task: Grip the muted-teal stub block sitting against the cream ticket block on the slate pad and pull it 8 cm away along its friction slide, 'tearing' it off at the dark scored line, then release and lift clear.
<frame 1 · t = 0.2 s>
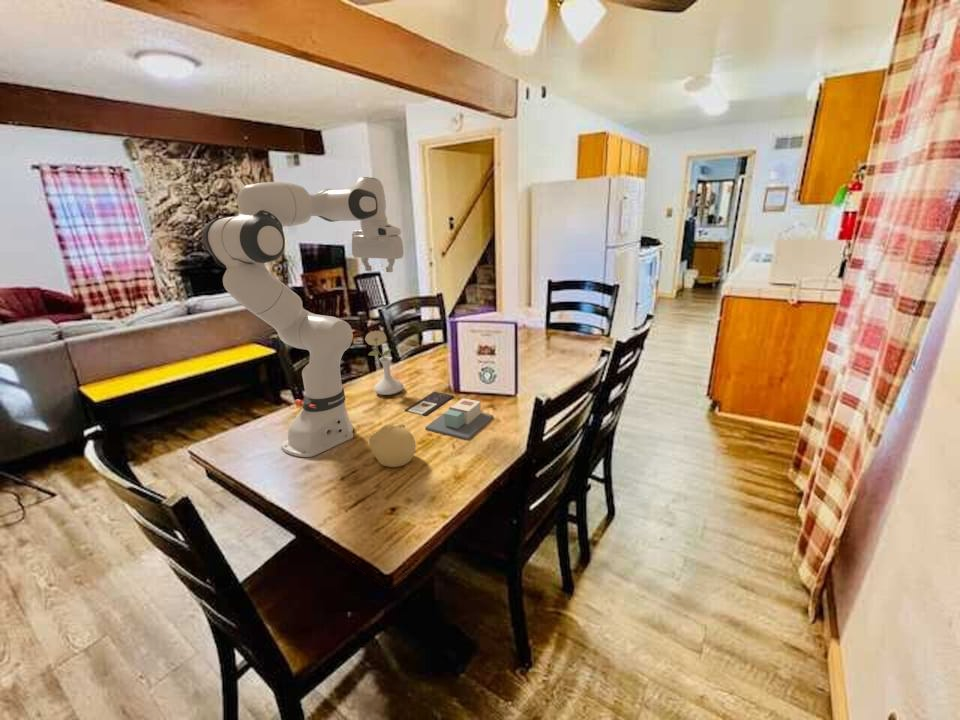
hand: (379, 271, 151), 48 cm above the table, fingers open, 8 cm apart
stub: (454, 418, 141), point 3 cm above the table, slide at 0.0 cm
flower in vase: (387, 392, 172), on the table
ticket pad: (460, 423, 145), on the table
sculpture: (395, 461, 125), on the table
chocolate bar: (430, 405, 161), on the table
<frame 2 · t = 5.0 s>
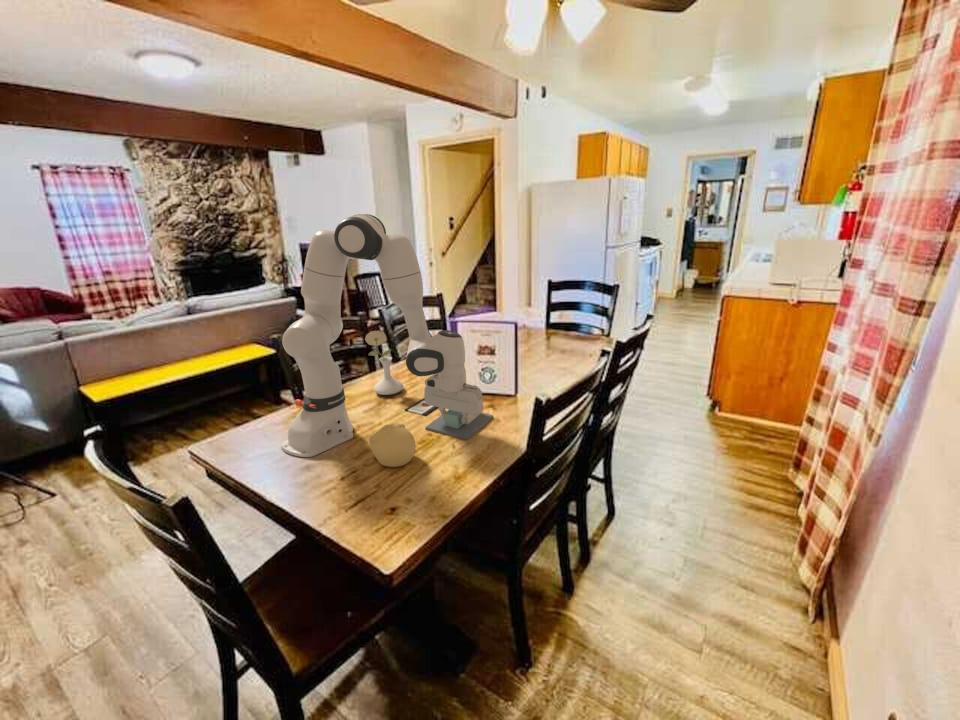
hand: (454, 421, 142), 2 cm above the table, fingers closed on stub, 5 cm apart
stub: (454, 418, 141), point 3 cm above the table, slide at 0.0 cm, touching gripper
everything else where it was.
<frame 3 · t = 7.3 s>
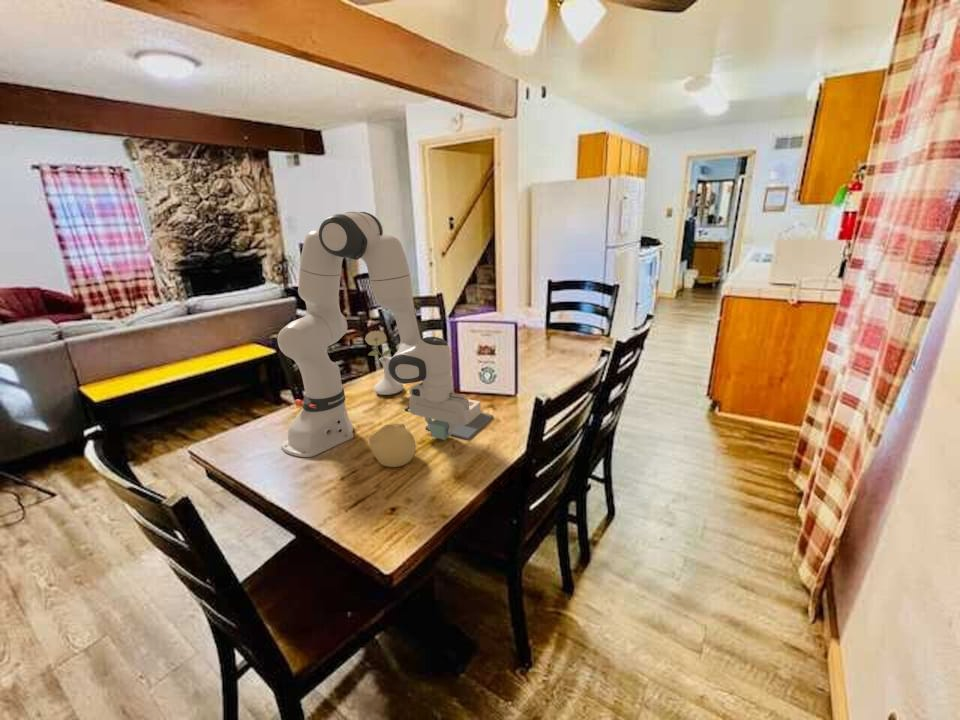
hand: (440, 431, 135), 2 cm above the table, fingers closed on stub, 5 cm apart
stub: (440, 428, 135), point 3 cm above the table, slide at 7.8 cm, touching gripper
everything else where it was.
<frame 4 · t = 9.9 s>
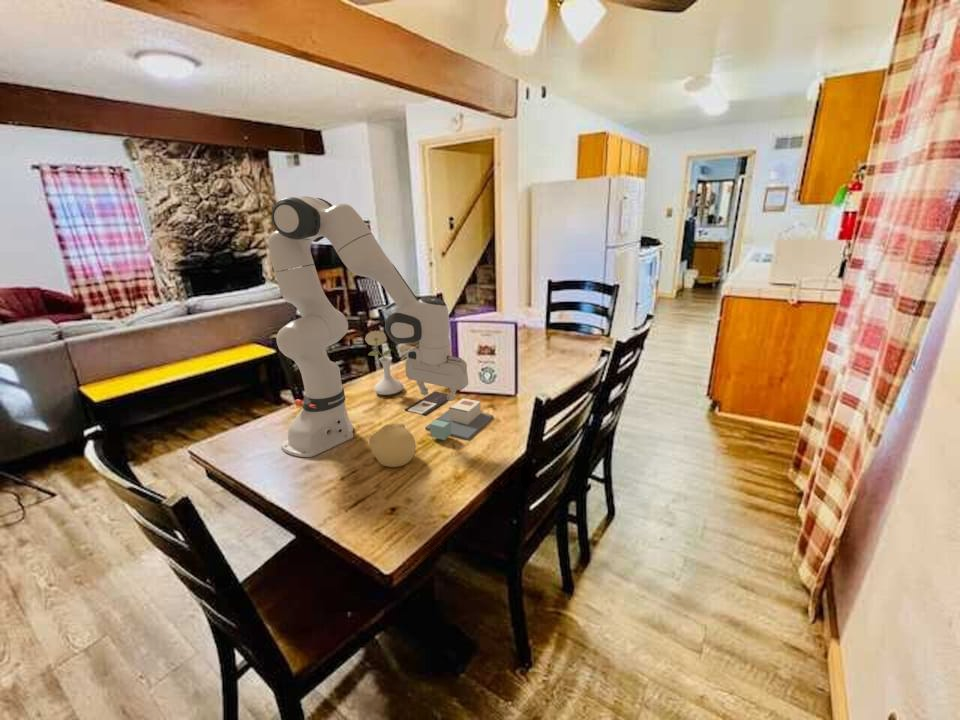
hand: (437, 397, 131), 14 cm above the table, fingers open, 8 cm apart
stub: (440, 429, 135), point 3 cm above the table, slide at 7.9 cm
everything else where it was.
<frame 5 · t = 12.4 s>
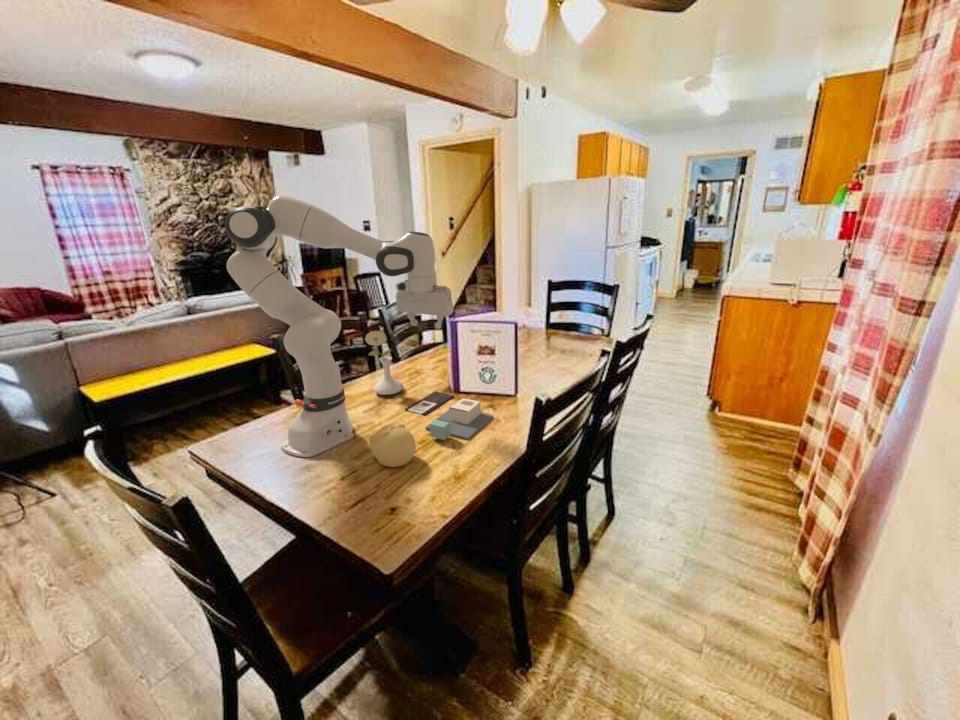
hand: (426, 326, 143), 31 cm above the table, fingers open, 8 cm apart
nothing on the table moved.
at the end: stub slide at 7.9 cm; the gripper is holding nothing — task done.
